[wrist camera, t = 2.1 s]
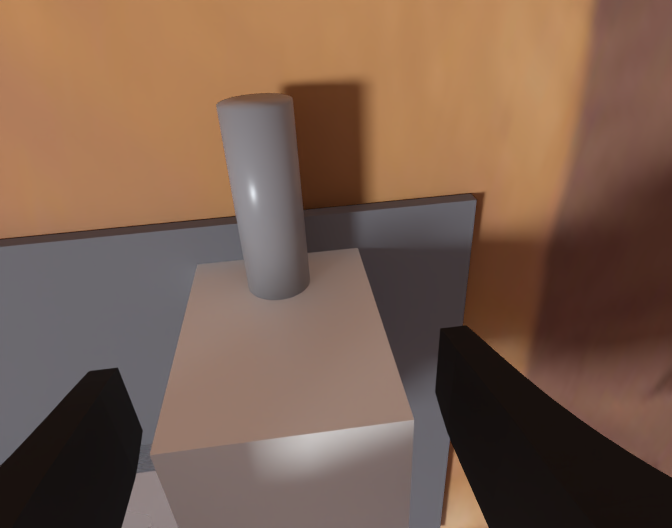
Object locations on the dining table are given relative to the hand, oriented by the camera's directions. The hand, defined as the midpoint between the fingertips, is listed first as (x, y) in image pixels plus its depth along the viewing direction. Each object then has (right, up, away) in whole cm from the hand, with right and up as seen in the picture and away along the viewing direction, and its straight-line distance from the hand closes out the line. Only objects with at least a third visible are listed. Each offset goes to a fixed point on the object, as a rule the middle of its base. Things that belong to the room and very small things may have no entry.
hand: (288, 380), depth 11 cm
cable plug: (0, +3, +1) cm, 3 cm away
